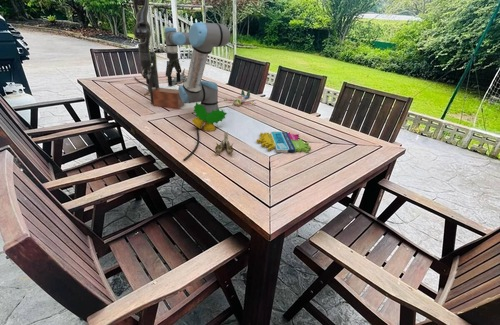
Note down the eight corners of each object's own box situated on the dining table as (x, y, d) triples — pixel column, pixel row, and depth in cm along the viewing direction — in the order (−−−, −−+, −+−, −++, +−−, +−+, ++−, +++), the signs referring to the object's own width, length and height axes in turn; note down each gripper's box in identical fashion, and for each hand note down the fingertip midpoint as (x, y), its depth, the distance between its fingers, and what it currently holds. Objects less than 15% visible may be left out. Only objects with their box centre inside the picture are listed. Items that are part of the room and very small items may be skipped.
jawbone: (234, 135, 144) (233, 125, 135) (233, 160, 138) (232, 151, 129) (217, 135, 144) (216, 125, 135) (216, 160, 138) (214, 150, 129)
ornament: (218, 133, 171) (224, 110, 169) (221, 134, 163) (227, 111, 161) (186, 125, 162) (192, 101, 160) (189, 126, 155) (195, 101, 153)
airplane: (159, 78, 275) (158, 68, 270) (189, 77, 288) (188, 67, 283) (167, 88, 246) (166, 77, 241) (199, 86, 260) (199, 75, 254)
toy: (261, 91, 228) (254, 99, 202) (261, 99, 231) (253, 108, 205) (231, 87, 233) (220, 95, 207) (230, 95, 236) (219, 104, 210)
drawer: (144, 103, 198) (142, 90, 193) (150, 99, 206) (149, 87, 201) (174, 106, 194) (173, 94, 190) (179, 103, 202) (178, 91, 198)
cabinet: (153, 105, 197) (152, 90, 191) (160, 102, 206) (159, 87, 200) (178, 109, 194) (177, 93, 188) (184, 105, 203) (183, 90, 197)
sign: (313, 150, 142) (258, 149, 139) (312, 153, 143) (258, 152, 140) (301, 132, 164) (254, 130, 161) (301, 134, 165) (254, 133, 162)
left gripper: (145, 57, 193) (148, 81, 201) (135, 59, 181) (138, 85, 190) (154, 58, 192) (157, 82, 200) (145, 60, 180) (148, 86, 189)
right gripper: (175, 50, 192) (177, 79, 202) (158, 54, 170) (161, 86, 181) (184, 51, 191) (186, 80, 201) (168, 55, 169) (171, 88, 179)
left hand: (148, 83), depth 195 cm, fingers closed
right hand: (174, 83), depth 191 cm, fingers open, 13 cm apart
